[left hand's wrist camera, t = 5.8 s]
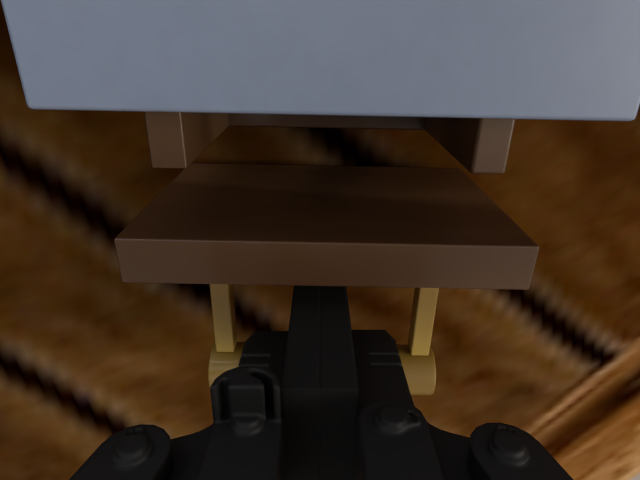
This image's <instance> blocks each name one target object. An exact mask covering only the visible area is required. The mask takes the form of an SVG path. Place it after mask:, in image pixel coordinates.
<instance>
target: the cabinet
mask: <svg viewBox="0 0 640 480" xmlns="http://www.w3.org/2000/svg"><path fill="white" fill-rule="evenodd" d="M1 3H2V7H3V11H4V15H5V19H6V23H7V27H8V31H9V35H10V39H11V43H12V47H13V51H14V55H15V59H16V63H17V67H18V71H19V75H20V79H21V83H22V87H23V91H24V95H25V99H26V103H27V105H28V107H29V108H31V109H38V110H88V111H138V112H189V113H239V114H289V115H339V116H390V117H440V118H490V119H540V120H591V121H631V120H634V119H635V117H636V114H637V111H638V108H639V105H640V0H1Z"/></svg>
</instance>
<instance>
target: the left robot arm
mask: <svg viewBox="0 0 640 480" xmlns="http://www.w3.org/2000/svg"><path fill="white" fill-rule="evenodd" d="M210 391H211V401H212V410H213V420H214V422H213V424H212V425H211V426H209V427H207V428H206V429H204V430H202V431H199V432H196V433H193V434H190V435H186V436H182V437H178V438H174V439H170V436H169V435H168V434H167V433H166V431H165V430H164V429H162V428H160V427H157V426H155V425H136V426H132V427H128V428H125V429H123V430H121V431H119V432H117V433H115V434H113V435H112V436H110V437H109V438H108V439H107V440H106V441H104V442H103V443H102V444H101V445H100V446H99V447H98V448H97V449H96V451H95V452H94V453H93V454H92V455H91V456H90V457H89V458H88V459H87V460H86V462H85V463H84V464H83V465H82V466H81V467H80V468H79V469H78V470H77V472H76V473H75V474H74V475H73V476H72V477H71V478H70V479H69V480H573V479H572V478H571V477H570V476H569V474H568V473H567V472H566V471H565V470H564V469H563V468H562V467H561V466H560V465H559V463H558V462H557V461H556V460H555V459H554V458H553V457H552V456H551V455H550V454H549V452H548V451H547V450H546V449H545V448H544V447H543V446H542V445H541V444H540V443H539V442H538V441H537V440H536V439H535V438H533V437H532V436H531V435H530V434H529V433H527V432H525V431H523V430H521V429H519V428H517V427H515V426H512V425H507V424H503V423H486V424H483V425H481V426H478V427H476V429H475V430H474V431H473V432H472V434H471V436H470V438H469V437H465V436H461V435H457V434H453V433H449V432H446V431H443V430H440V429H438V428H436V427H434V426H432V425H430V424H429V423H428V422H427V421H426V420H425V418H424V416H423V414H422V413H421V411H419V410H418V409H417V408H416V407H414V404H413V401H412V397H411V394H410V390H409V387H408V383H407V380H406V376H405V373H404V369H403V366H402V362H401V359H400V356H399V351H398V348H397V344H396V341H395V340H394V339H393V338H392V337H391V336H390V335H389V334H388V333H387V332H386V331H385V330H351V323H350V315H349V306H348V298H347V290H346V286H295V285H294V291H293V299H292V307H291V316H290V324H289V331H255V332H254V333H253V334H252V335H251V336H250V337H249V338H248V339H247V340H246V341H245V343H244V347H243V350H242V354H241V357H240V361H239V364H238V367H236V368H233V369H230V370H228V371H225V372H224V373H222V374H221V375H219V376H218V377H217V378H215V380H214V382H213V383H212V385H211V386H210Z"/></svg>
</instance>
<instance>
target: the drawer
mask: <svg viewBox="0 0 640 480" xmlns="http://www.w3.org/2000/svg"><path fill="white" fill-rule="evenodd" d="M144 114H145V121H146V128H147V135H148V142H149V149H150V156H151V163H152V167H153V168H183V169H184V170H183V171H182V172H181V173H180V174H179V175H178V176H177V177H176V178H175V179H174V180H173V181H172V182H171V183H170V184H169V185H168V186H167V187H166V188H165V189H164V190H163V191H162V192H161V193H160V194H159V195H158V196H157V197H156V198H155V199H154V200H153V201H152V202H151V203H150V204H149V205H148V206H147V207H146V208H145V209H144V210H143V211H142V212H141V213H140V214H139V215H138V216H137V217H136V218H135V219H134V220H133V221H132V222H131V223H130V224H129V225H128V226H127V227H126V228H125V229H124V230H123V231H122V232H121V233H120V234H119V235H118V236H117V237H116V238H115V239H114V242H115V247H116V252H117V257H118V262H119V267H120V273H121V278H122V282H124V283H181V284H210V293H211V303H212V314H213V324H214V334H215V343H214V344H213V346H212V349H211V353H210V358H209V366H208V382H209V387H210V386H211V385H212V383H213V382H214V380H215V378H217V377H218V376H219V375H221V374H222V373H224V372H225V371H228V370H230V369H233V368H236V367H238V364H239V361H240V357H241V354H242V350H243V347H244V343H245V342H237V334H236V321H235V307H234V294H233V284H238V285H295V286H352V287H409V288H415V291H414V299H413V307H412V315H411V323H410V330H409V338H408V345H397V348H398V351H399V356H400V359H401V362H402V366H403V369H404V373H405V376H406V380H407V383H408V387H409V390H410V394H411V395H432V394H433V392H434V389H435V384H436V365H435V358H434V354H433V351H432V349H431V347H430V343H431V337H432V330H433V324H434V317H435V311H436V304H437V297H438V291H439V288H467V289H524V290H527V289H529V287H530V283H531V279H532V275H533V271H534V267H535V263H536V259H537V255H538V251H539V246H538V245H537V244H536V243H535V242H534V241H533V240H532V239H531V238H530V237H529V236H528V235H527V234H526V233H525V232H524V231H523V230H522V229H521V228H520V227H519V226H518V225H517V224H516V223H515V222H514V221H513V220H512V219H511V218H510V217H509V216H508V215H507V214H505V213H504V212H503V211H502V210H501V209H500V208H499V207H498V206H497V205H496V204H495V203H494V202H493V201H492V200H491V199H490V198H489V197H488V196H487V195H486V194H485V193H484V192H483V191H482V190H481V189H480V188H479V187H478V186H477V185H476V184H475V183H474V182H473V181H472V180H471V179H470V178H469V177H468V176H467V175H466V174H465V173H464V172H463V171H462V170H461V169H459V168H416V167H364V166H312V165H260V164H208V163H192V162H193V161H194V160H195V159H196V158H197V157H198V156H199V155H200V154H201V153H202V152H203V151H204V150H205V149H206V148H207V147H208V146H209V145H210V144H211V143H212V142H213V141H214V140H215V139H216V138H217V137H218V136H219V135H220V134H221V133H222V132H223V131H224V130H225V129H226V128H227V127H228V126H259V127H309V128H360V129H411V130H426V131H427V132H428V133H429V134H430V135H431V136H432V137H433V138H434V139H435V140H436V141H437V142H439V143H440V144H441V145H442V146H443V147H444V148H445V149H446V150H447V151H448V152H449V153H450V154H451V155H452V156H454V157H455V158H456V159H457V160H458V161H459V162H460V163H461V164H462V165H463V166H464V167H465V168H466V169H467V170H469V171H470V172H471V173H473V174H503V173H504V172H505V169H506V164H507V159H508V154H509V149H510V144H511V139H512V134H513V129H514V124H515V119H490V118H440V117H390V116H339V115H289V114H239V113H189V112H144Z"/></svg>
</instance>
